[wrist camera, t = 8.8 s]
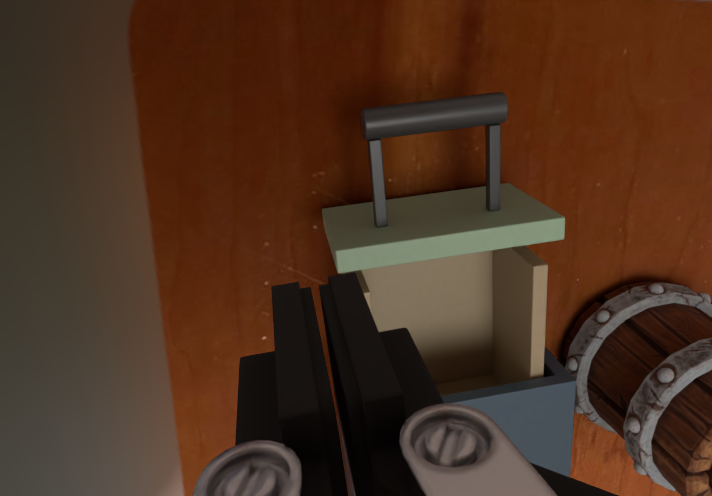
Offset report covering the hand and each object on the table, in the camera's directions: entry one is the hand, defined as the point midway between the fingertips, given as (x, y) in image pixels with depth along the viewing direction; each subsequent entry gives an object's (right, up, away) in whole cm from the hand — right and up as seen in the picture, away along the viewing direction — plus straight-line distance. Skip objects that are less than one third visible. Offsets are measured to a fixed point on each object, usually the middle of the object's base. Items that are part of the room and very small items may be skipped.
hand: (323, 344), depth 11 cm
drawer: (+5, +2, +23) cm, 23 cm away
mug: (+22, -5, +29) cm, 37 cm away
